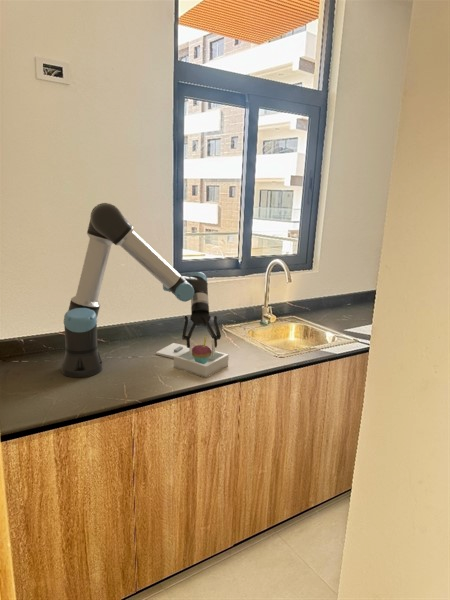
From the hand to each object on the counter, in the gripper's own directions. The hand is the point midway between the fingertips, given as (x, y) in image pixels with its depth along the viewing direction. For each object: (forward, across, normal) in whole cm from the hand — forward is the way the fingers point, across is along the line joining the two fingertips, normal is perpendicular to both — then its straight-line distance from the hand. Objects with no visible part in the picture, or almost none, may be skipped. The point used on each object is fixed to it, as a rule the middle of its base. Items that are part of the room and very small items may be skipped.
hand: (202, 354), depth 165 cm
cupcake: (+1, 0, -6) cm, 6 cm away
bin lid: (-9, +9, -18) cm, 22 cm away
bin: (+2, 0, -7) cm, 7 cm away
